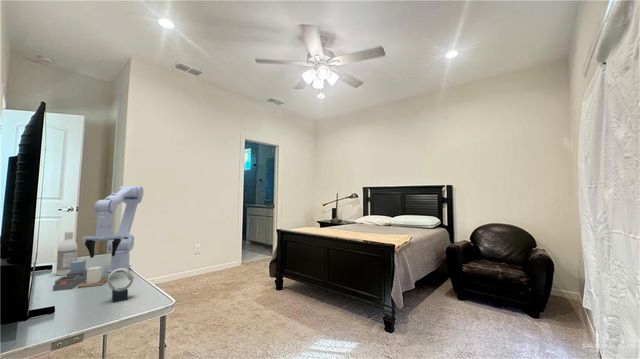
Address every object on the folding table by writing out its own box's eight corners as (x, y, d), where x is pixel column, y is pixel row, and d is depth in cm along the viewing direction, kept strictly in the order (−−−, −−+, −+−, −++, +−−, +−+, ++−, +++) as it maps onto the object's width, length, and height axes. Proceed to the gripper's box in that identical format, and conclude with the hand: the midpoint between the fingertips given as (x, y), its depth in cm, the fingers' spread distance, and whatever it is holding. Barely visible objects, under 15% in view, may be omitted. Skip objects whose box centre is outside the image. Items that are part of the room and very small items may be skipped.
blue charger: (73, 274, 120) (74, 260, 120) (85, 273, 122) (85, 259, 122) (69, 276, 116) (70, 262, 117) (81, 275, 118) (82, 261, 118)
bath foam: (59, 272, 128) (62, 231, 129) (78, 271, 131) (80, 230, 132) (53, 276, 122) (56, 233, 123) (73, 274, 125) (76, 232, 126)
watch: (133, 298, 99) (135, 268, 100) (106, 303, 94) (108, 272, 94) (132, 293, 103) (133, 265, 104) (105, 299, 98) (107, 268, 99)
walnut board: (86, 281, 117) (86, 279, 117) (108, 279, 120) (108, 277, 120) (77, 287, 109) (77, 286, 109) (102, 285, 112) (102, 284, 112)
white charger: (90, 281, 115) (90, 267, 116) (101, 279, 117) (102, 266, 117) (86, 283, 112) (87, 269, 112) (98, 282, 113) (99, 268, 114)
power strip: (78, 273, 127) (78, 266, 127) (93, 272, 129) (94, 265, 129) (52, 290, 105) (53, 281, 105) (72, 288, 107) (73, 280, 108)
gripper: (80, 228, 114) (78, 260, 113) (121, 226, 120) (120, 257, 119) (86, 226, 120) (85, 256, 119) (125, 224, 126) (124, 253, 125)
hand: (102, 256), depth 120 cm, fingers open, 7 cm apart
